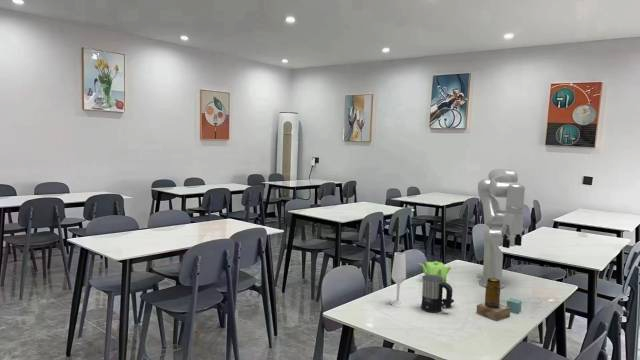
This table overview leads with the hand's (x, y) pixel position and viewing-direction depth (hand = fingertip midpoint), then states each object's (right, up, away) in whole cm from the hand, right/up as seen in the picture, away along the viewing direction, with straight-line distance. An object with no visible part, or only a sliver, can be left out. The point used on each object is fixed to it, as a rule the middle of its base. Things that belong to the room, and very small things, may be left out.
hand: (511, 246), depth 208 cm
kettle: (-28, -25, +35) cm, 51 cm away
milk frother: (-36, -28, -4) cm, 46 cm away
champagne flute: (-54, -27, -2) cm, 61 cm away
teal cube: (-2, -29, -5) cm, 29 cm away
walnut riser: (-13, -29, -11) cm, 34 cm away
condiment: (-13, -25, -12) cm, 31 cm away
